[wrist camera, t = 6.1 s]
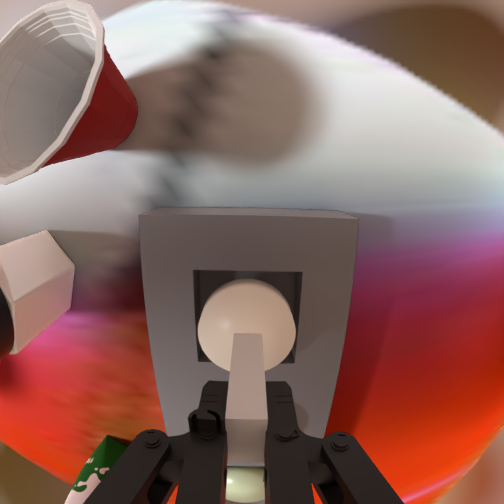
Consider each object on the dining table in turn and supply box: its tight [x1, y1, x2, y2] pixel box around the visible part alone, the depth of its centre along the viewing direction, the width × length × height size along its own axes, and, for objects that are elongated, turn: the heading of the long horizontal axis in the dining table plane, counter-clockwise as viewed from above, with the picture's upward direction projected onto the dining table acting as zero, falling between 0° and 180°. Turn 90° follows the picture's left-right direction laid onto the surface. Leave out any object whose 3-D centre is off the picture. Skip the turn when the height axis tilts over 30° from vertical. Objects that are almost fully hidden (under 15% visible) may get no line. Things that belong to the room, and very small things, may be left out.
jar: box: [0, 230, 75, 361], centre depth 19 cm, size 9×8×12 cm
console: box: [139, 207, 359, 504], centre depth 25 cm, size 14×34×5 cm, turn 179°
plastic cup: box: [0, 0, 138, 185], centre depth 16 cm, size 11×11×12 cm
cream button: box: [198, 278, 296, 371], centre depth 19 cm, size 6×6×2 cm
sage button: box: [226, 466, 265, 503], centre depth 25 cm, size 6×6×2 cm
